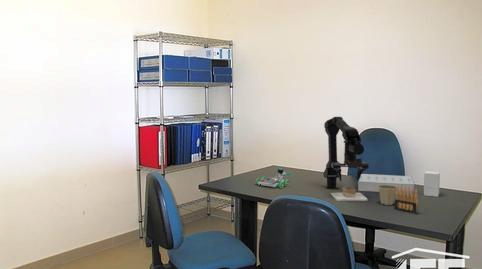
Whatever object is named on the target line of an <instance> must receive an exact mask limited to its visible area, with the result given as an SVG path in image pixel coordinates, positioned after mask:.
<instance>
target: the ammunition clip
mask: <svg viewBox="0 0 482 269" xmlns="http://www.w3.org/2000/svg"><path fill="white" fill-rule="evenodd" d="M418 198H419V197H418V188H417V187H416V188H414V190H413V187H412V189H411V194H410V188H409V187H408V189H407V193H406V187H404V192H403V189H402V186H401V187H400V193H399V186H398V185H397V188H396V193H395V198H394V206H393V210H395V211H399V212H405V213H409V214H414V215H418V214H419V203H418Z"/></svg>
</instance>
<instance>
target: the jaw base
mask: <svg viewBox="0 0 482 269" xmlns="http://www.w3.org/2000/svg"><path fill="white" fill-rule="evenodd" d="M330 194H331V197H333V198H334V200H335V201H337V202H339V201H343V202H344V201H349V202H350V201H353V202H354V201H357V202H359V201H367V202H368V198H367V197H366V196H365V195H364V194H363V193H361V192H355V197H345V196H344V195H343V192H331V193H330Z"/></svg>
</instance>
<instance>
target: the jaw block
mask: <svg viewBox="0 0 482 269" xmlns="http://www.w3.org/2000/svg"><path fill="white" fill-rule="evenodd" d="M342 193H343V195H344V196H345V197H355V193H356V189H355V188H354V187H353V186H342Z"/></svg>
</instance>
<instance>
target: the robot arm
mask: <svg viewBox="0 0 482 269" xmlns="http://www.w3.org/2000/svg"><path fill="white" fill-rule="evenodd" d="M323 126H324V131H325V133H326V134H327V138H328V139H327V140H328V147H327V149H328V161H327V163H326V165H325V169H324V171H323V173H322V174H323V177H324V178H325V179H326V184H325V185H324V187H325V188H326V189H329V190H330V189H332V190H333V189H339V187H338V186H337V184H338V180H337V179H339V181H340V182H342V168H348V169H356V171H357V172H356V182H358V181H359V179H360V176H361V174H363V172H364V171H366V170H368V169H369V167H370V164H369V163H368V162H366V161H363V159H362V158H357V156H360V155H362V154H363V153H365V152H364V151H365V148H364V145H363V144H361V143H362V141H361V140H362V138H361V135H360V134H359V130H358V129H357V128H356V127H354V126H350V125H349V124H348V123H347V122H346V121H345V120H344V118H343V117H342V116H333V117H331V118H330V119H328V120H326V121H325V122H324V124H323ZM339 132H342V133H341V137H342V138H343V144H344V152H343V155H344V156H343V157H344V160H343V163H341V162H339V161H338V145H337V144H338V140H337V139H338V137H337V135H339Z"/></svg>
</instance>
